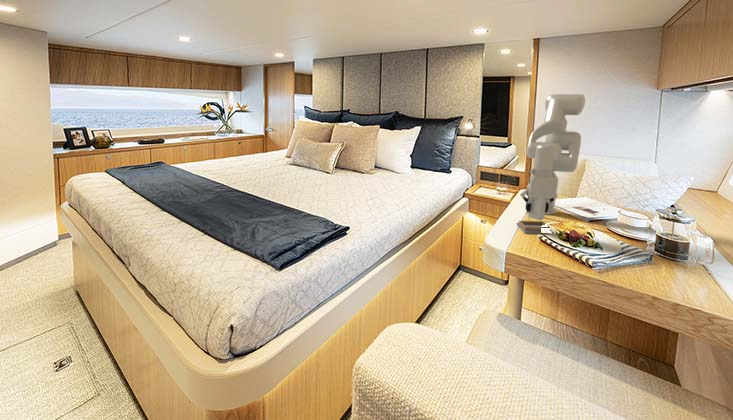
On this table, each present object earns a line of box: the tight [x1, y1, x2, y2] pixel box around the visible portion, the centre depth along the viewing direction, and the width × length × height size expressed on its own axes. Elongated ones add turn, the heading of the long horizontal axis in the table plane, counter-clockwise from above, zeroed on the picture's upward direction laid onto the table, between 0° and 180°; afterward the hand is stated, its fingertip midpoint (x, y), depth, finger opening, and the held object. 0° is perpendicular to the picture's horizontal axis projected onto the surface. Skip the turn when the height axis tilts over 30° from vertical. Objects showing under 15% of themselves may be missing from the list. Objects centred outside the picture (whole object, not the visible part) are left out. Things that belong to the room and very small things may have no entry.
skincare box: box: [527, 194, 546, 221], centre depth 164 cm, size 6×4×12 cm
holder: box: [516, 220, 551, 235], centre depth 167 cm, size 12×12×2 cm
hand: (536, 211), depth 165 cm, fingers closed on skincare box, 6 cm apart
